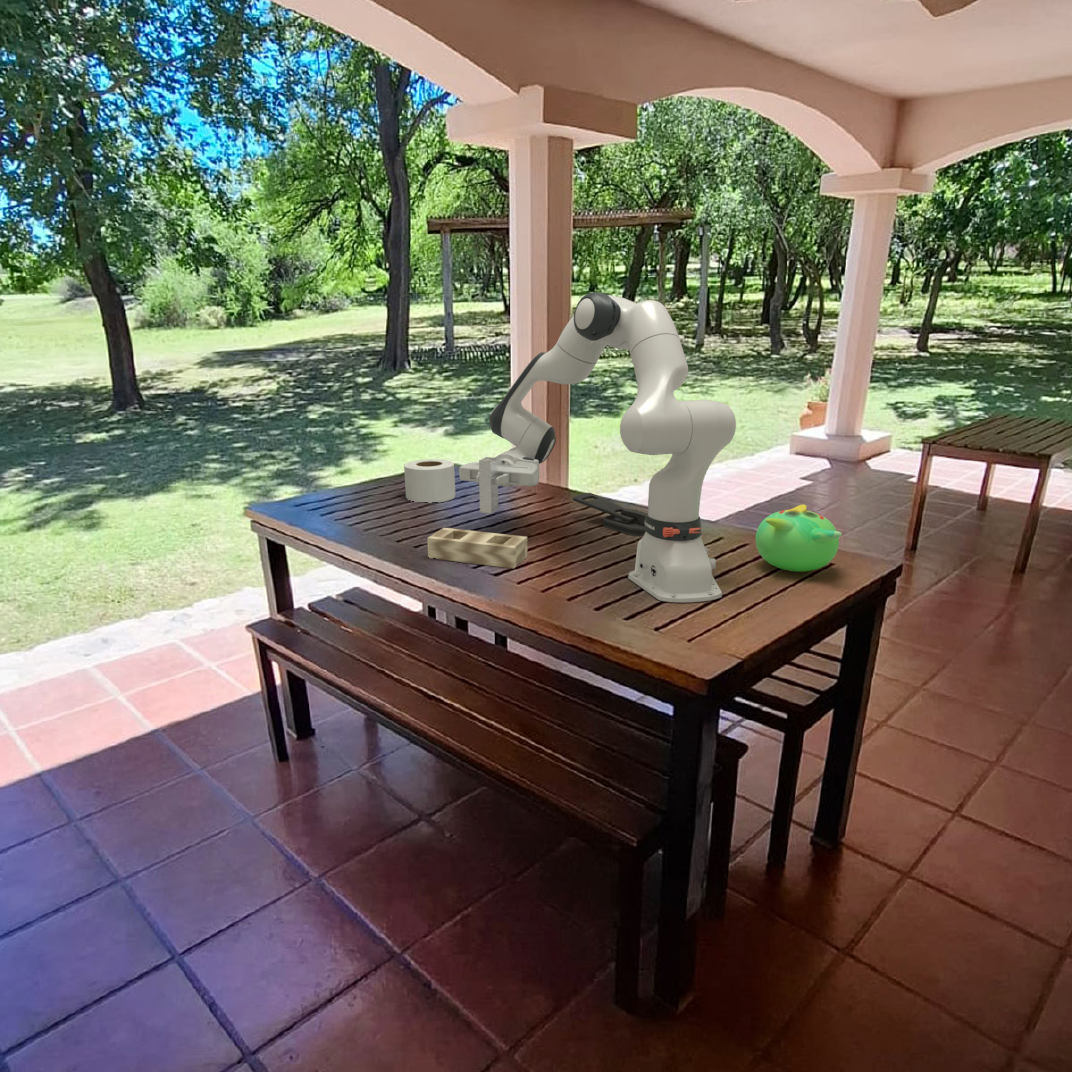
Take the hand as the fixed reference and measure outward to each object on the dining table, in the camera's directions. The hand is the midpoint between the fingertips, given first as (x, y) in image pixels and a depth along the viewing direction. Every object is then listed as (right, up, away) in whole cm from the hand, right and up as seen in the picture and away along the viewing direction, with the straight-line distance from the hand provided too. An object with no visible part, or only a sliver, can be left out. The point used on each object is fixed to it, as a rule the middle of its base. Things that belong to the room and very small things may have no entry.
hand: (487, 480), depth 181 cm
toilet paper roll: (-21, -2, +52) cm, 56 cm away
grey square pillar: (0, -7, +3) cm, 8 cm away
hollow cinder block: (-2, -19, -3) cm, 19 cm away
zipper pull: (+33, -11, +24) cm, 42 cm away
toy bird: (+71, -21, -10) cm, 75 cm away
